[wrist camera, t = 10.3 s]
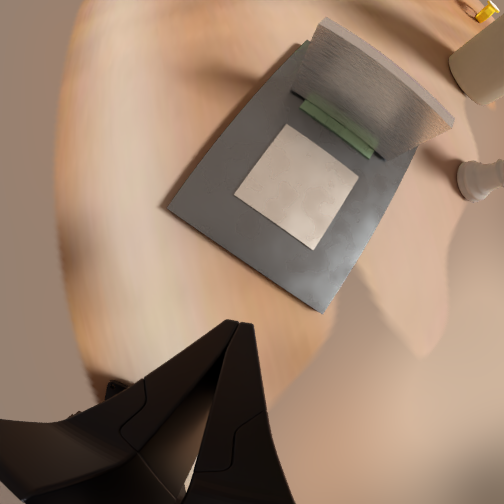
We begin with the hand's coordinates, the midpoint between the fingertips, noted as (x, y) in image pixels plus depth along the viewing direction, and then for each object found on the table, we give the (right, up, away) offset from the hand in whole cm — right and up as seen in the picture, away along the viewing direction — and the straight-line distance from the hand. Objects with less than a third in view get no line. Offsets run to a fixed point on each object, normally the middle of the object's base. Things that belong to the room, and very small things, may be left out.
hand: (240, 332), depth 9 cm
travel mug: (+29, +25, +16) cm, 41 cm away
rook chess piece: (+23, +10, +15) cm, 30 cm away
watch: (+42, +46, +17) cm, 64 cm away
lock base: (+5, +10, +14) cm, 18 cm away
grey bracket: (+9, +15, +13) cm, 22 cm away
